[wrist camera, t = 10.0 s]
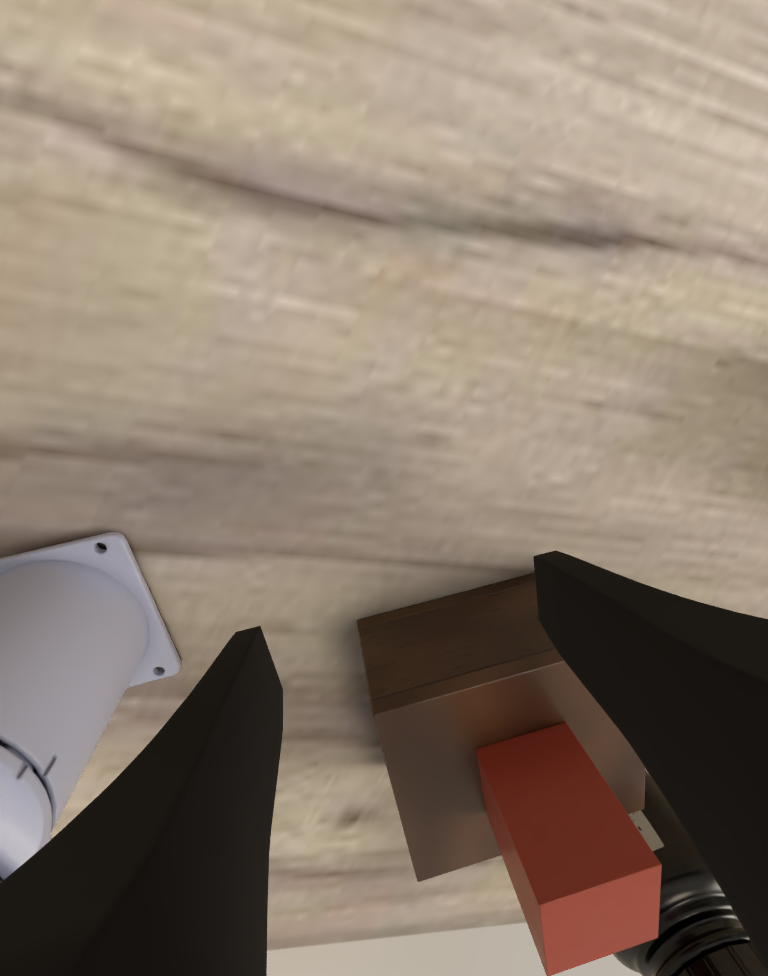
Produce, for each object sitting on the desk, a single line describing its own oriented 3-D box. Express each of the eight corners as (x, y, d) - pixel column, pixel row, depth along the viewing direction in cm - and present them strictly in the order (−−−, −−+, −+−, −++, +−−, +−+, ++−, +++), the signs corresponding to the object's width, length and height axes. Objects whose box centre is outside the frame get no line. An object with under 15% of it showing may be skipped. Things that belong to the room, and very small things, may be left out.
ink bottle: (579, 760, 30) (743, 1016, 18) (685, 762, 32) (892, 995, 20) (535, 859, 32) (654, 1134, 21) (635, 855, 34) (793, 1106, 23)
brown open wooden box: (394, 764, 27) (417, 882, 21) (356, 619, 23) (372, 715, 17) (574, 710, 28) (645, 809, 22) (567, 564, 24) (649, 636, 18)
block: (485, 812, 20) (547, 977, 15) (475, 748, 19) (539, 906, 14) (570, 786, 21) (658, 938, 15) (566, 721, 19) (662, 864, 14)
